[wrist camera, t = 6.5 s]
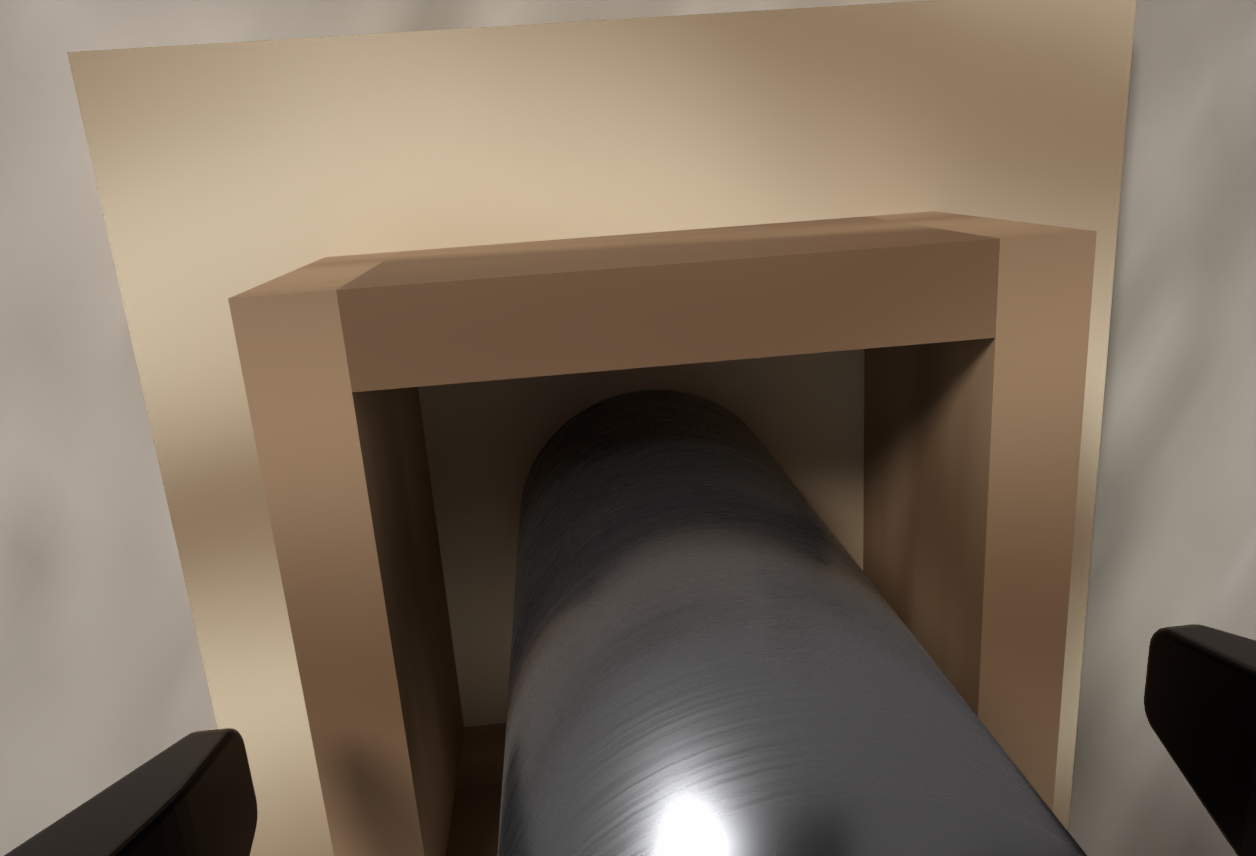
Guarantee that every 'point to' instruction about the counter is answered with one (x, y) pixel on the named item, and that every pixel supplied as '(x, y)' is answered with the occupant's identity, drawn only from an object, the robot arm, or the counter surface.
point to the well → (607, 346)
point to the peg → (725, 667)
